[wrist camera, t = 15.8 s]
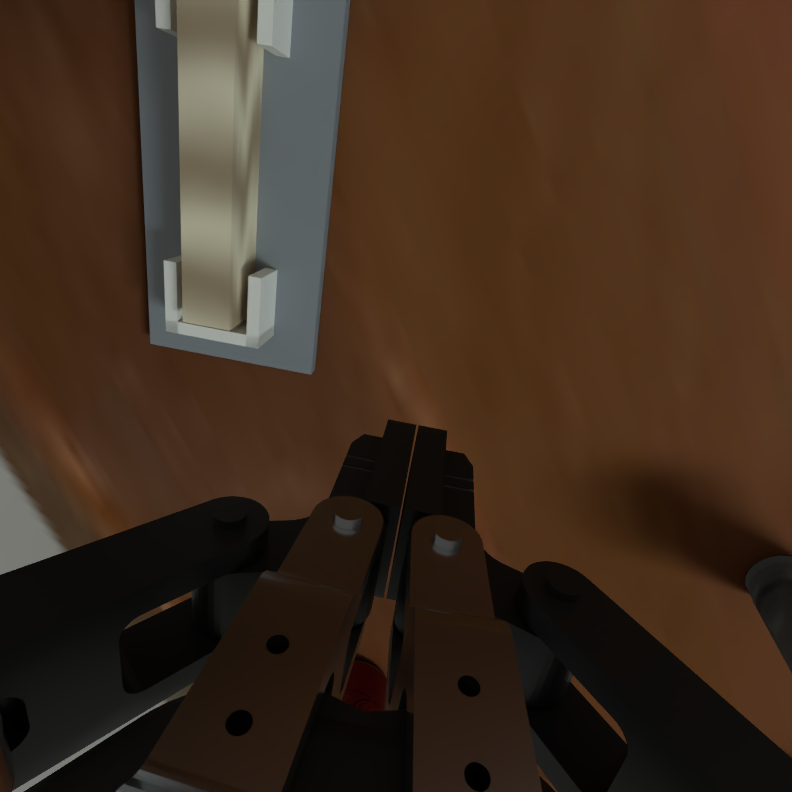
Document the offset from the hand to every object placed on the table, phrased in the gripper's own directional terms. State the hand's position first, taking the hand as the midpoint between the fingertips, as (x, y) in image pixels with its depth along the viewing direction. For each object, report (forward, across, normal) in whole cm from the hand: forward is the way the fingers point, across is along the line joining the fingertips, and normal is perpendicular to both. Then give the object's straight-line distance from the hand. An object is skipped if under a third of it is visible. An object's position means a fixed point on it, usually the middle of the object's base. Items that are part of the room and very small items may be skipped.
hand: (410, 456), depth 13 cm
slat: (+22, +14, -5) cm, 26 cm away
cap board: (+23, +14, -5) cm, 27 cm away
